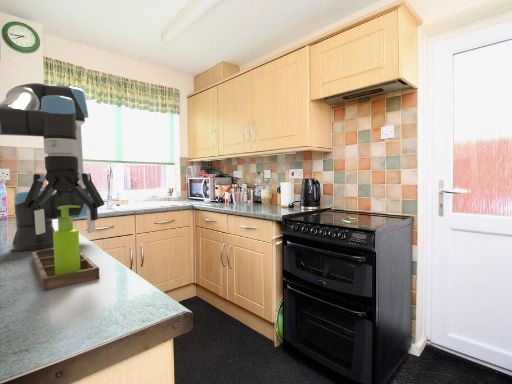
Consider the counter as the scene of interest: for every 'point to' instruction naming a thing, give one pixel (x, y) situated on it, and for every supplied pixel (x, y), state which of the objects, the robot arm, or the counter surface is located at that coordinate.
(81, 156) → the robot arm
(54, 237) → the soap dispenser
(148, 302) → the counter surface
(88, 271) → the pocket rack
